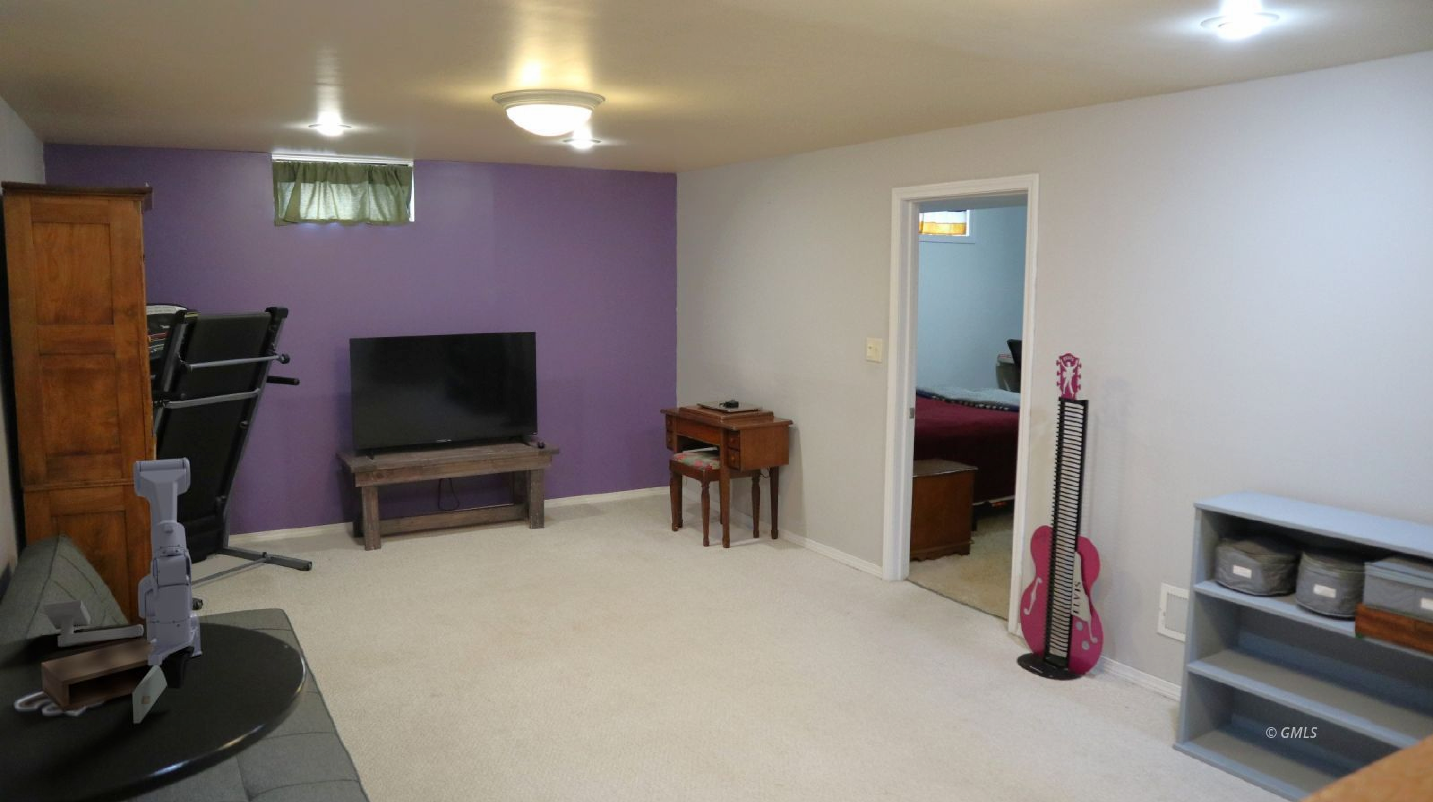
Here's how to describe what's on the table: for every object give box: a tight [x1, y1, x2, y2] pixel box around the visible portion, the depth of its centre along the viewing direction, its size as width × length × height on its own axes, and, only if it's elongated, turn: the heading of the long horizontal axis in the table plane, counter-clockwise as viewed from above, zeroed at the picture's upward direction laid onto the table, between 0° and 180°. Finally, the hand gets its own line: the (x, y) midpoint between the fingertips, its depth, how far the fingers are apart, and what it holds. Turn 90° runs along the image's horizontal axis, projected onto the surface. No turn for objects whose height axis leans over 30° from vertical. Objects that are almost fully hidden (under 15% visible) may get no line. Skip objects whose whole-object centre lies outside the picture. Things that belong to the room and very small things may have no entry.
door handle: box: [42, 599, 144, 648], centre depth 213 cm, size 18×8×20 cm
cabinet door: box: [131, 665, 168, 724], centre depth 182 cm, size 17×2×6 cm, turn 15°
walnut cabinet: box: [41, 638, 154, 713], centre depth 188 cm, size 18×12×6 cm, turn 140°
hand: (175, 686), depth 182 cm, fingers closed
